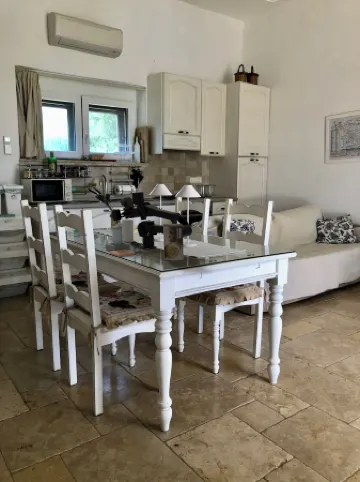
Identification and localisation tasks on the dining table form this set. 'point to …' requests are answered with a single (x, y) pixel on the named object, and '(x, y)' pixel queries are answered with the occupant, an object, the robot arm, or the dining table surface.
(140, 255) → the dining table surface
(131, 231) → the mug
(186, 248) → the dining table surface
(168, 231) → the coffee box
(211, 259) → the dining table surface
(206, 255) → the dining table surface
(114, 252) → the dock
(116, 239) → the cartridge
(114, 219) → the robot arm
